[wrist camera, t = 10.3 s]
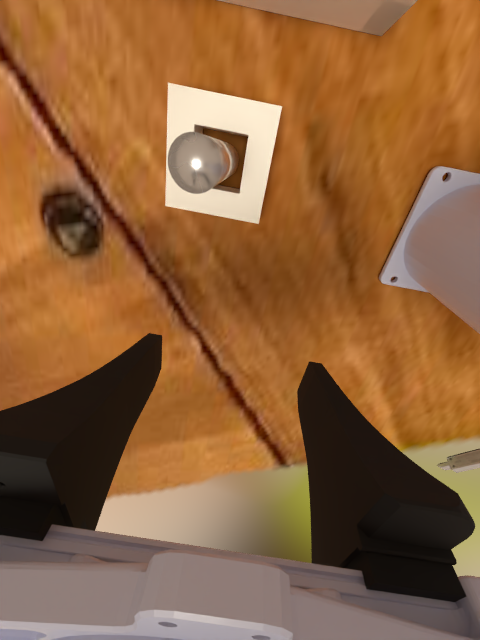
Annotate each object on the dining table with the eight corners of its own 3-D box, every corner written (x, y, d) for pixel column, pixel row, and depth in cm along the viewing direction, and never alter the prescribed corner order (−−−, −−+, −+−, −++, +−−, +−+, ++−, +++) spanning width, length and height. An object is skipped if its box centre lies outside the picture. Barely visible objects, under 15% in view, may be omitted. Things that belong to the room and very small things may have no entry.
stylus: (241, 145, 17) (224, 138, 10) (236, 180, 18) (217, 198, 11) (210, 139, 17) (168, 125, 9) (206, 174, 18) (166, 188, 11)
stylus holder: (279, 112, 16) (282, 106, 14) (258, 216, 19) (258, 223, 17) (180, 92, 16) (168, 82, 14) (176, 200, 19) (165, 205, 17)
